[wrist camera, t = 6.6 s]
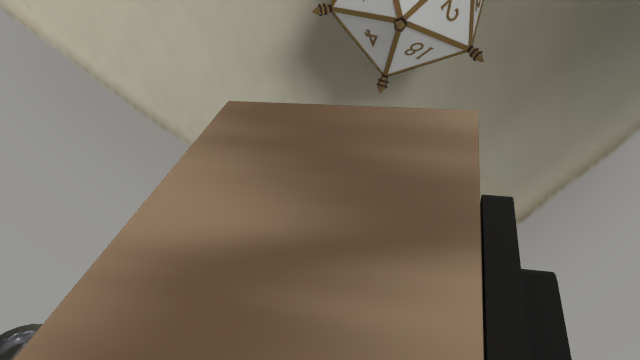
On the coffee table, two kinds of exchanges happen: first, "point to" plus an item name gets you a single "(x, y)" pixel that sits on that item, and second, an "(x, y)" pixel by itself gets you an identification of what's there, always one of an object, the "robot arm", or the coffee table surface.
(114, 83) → the coffee table surface
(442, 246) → the walnut block
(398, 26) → the game die
